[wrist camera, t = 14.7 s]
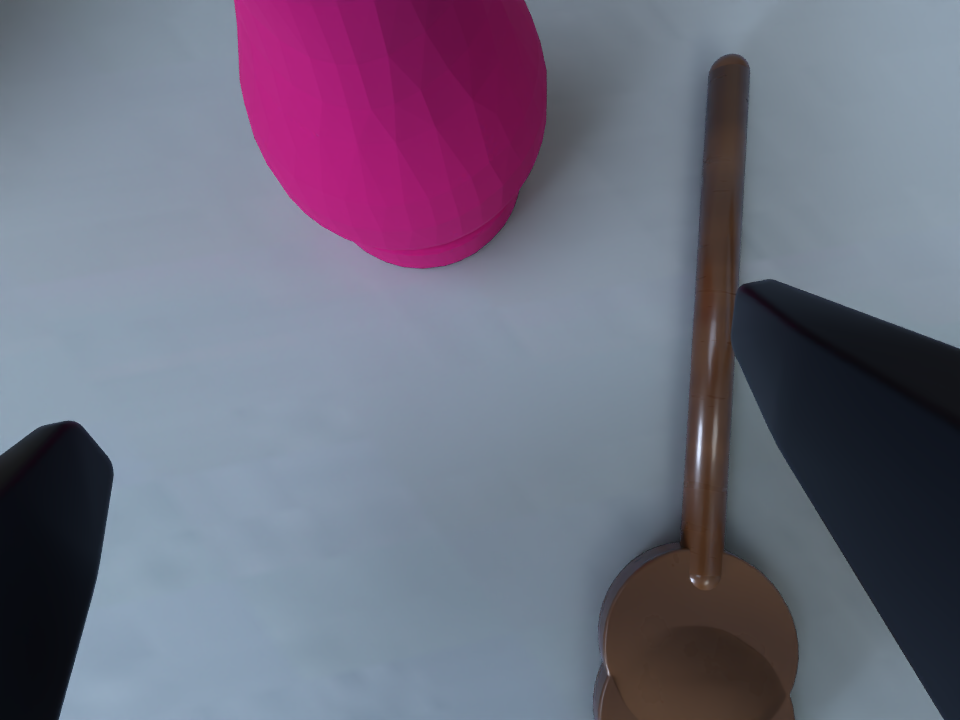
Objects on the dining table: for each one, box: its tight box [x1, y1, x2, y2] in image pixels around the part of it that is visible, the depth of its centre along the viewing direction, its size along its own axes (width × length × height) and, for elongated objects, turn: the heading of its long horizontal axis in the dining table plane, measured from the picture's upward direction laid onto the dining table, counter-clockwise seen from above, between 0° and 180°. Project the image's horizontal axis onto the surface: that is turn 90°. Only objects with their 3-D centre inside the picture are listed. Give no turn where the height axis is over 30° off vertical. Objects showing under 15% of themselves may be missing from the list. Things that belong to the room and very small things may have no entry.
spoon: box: [593, 54, 799, 720], centre depth 18 cm, size 22×5×1 cm, turn 175°
